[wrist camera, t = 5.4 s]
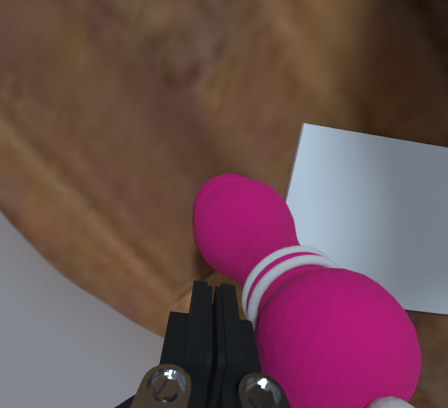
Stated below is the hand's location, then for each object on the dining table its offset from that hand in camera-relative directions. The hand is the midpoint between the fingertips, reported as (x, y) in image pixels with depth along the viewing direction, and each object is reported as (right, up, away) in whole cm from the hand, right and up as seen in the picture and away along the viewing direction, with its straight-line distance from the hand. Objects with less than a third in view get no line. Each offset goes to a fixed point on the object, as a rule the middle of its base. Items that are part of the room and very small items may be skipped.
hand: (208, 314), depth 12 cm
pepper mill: (+1, +4, +14) cm, 15 cm away
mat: (+16, +2, +16) cm, 22 cm away
